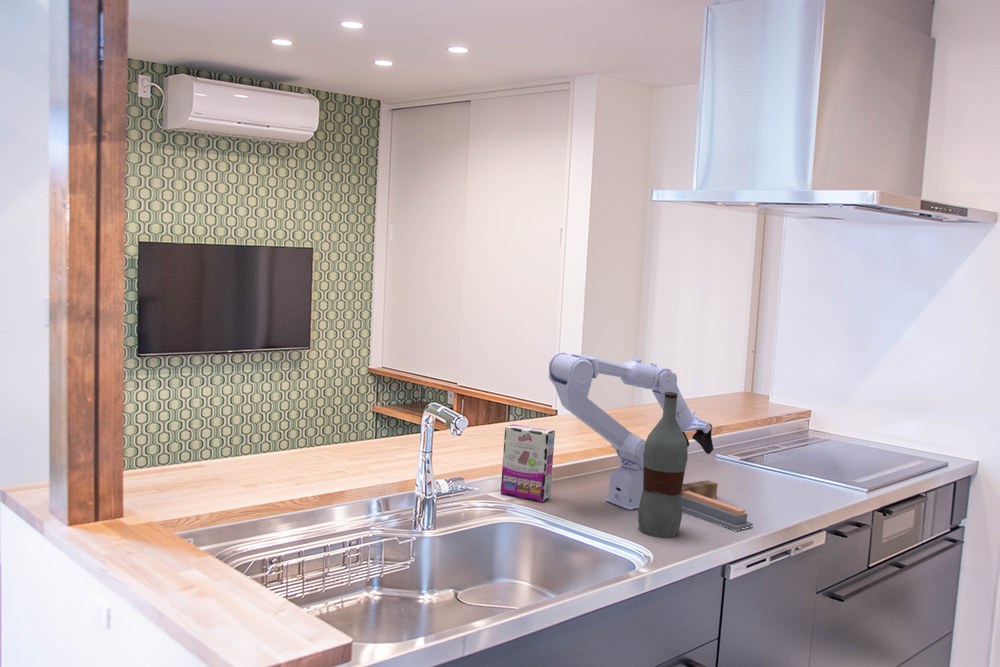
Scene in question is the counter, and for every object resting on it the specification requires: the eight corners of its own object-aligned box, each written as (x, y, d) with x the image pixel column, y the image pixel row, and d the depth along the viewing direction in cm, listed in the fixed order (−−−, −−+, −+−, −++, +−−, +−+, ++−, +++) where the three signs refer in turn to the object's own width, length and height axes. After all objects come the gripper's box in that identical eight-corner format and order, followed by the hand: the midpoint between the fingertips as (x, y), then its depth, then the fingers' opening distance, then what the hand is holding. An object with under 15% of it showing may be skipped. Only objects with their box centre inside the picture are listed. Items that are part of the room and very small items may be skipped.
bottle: (670, 523, 182) (682, 389, 179) (687, 538, 173) (701, 397, 170) (630, 523, 180) (642, 388, 177) (646, 538, 171) (659, 395, 168)
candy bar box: (550, 498, 195) (556, 430, 194) (543, 503, 191) (548, 433, 189) (508, 489, 200) (513, 423, 198) (499, 494, 195) (504, 426, 194)
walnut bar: (661, 508, 194) (663, 492, 194) (652, 505, 197) (653, 488, 196) (716, 498, 206) (717, 483, 206) (706, 495, 209) (708, 480, 208)
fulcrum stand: (735, 531, 180) (737, 513, 180) (672, 508, 194) (674, 491, 194) (752, 527, 184) (754, 510, 183) (689, 505, 198) (690, 488, 197)
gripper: (707, 399, 195) (730, 441, 200) (662, 394, 206) (684, 435, 211) (691, 419, 191) (715, 461, 196) (646, 413, 203) (669, 453, 208)
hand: (698, 449), depth 204 cm, fingers open, 7 cm apart
